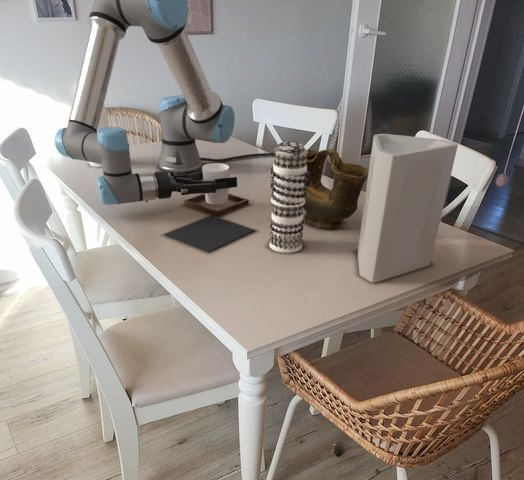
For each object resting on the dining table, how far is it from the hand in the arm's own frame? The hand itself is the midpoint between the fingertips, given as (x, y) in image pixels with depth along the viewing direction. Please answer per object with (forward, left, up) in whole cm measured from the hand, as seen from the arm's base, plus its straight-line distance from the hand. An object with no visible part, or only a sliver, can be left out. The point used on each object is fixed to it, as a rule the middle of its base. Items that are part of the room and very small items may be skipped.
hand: (231, 177), depth 152 cm
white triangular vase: (+5, +54, -8) cm, 55 cm away
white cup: (+4, -2, -7) cm, 8 cm away
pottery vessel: (-6, +29, -8) cm, 30 cm away
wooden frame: (+4, -2, -8) cm, 9 cm away
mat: (+21, +11, -8) cm, 25 cm away
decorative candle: (+14, +31, -8) cm, 35 cm away
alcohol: (+2, -61, -8) cm, 62 cm away
